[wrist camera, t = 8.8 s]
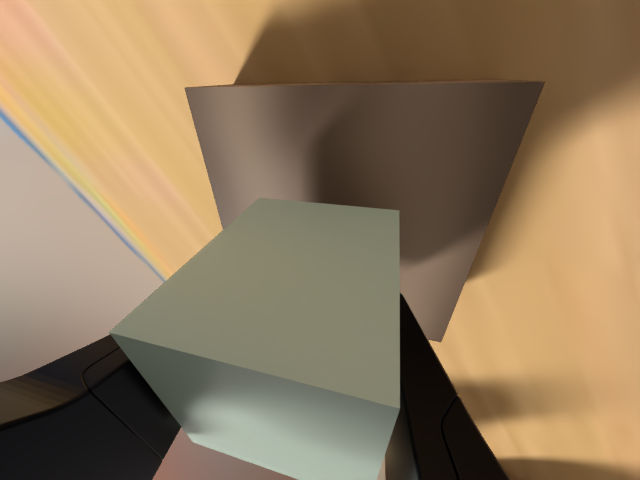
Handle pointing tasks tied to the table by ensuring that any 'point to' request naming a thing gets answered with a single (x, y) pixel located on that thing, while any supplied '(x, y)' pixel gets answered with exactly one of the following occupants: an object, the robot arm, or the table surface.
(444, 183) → the walnut block
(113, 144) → the table surface
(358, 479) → the sage pill box
